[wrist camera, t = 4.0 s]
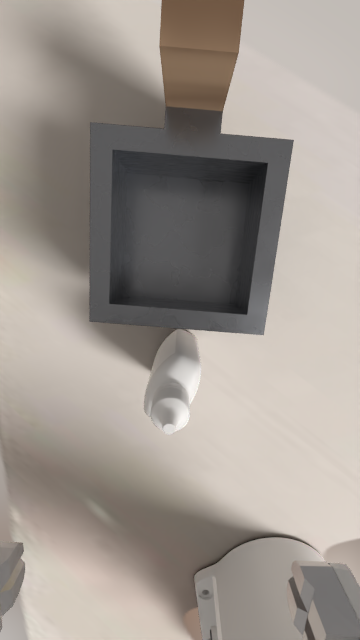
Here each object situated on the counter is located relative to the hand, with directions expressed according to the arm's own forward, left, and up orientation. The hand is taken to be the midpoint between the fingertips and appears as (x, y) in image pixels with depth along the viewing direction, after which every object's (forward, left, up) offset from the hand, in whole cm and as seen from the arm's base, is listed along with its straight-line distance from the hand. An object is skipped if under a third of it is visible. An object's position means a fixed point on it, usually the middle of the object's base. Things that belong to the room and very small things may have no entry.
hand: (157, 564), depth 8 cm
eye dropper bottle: (0, 0, -19) cm, 19 cm away
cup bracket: (+12, 0, -19) cm, 22 cm away
